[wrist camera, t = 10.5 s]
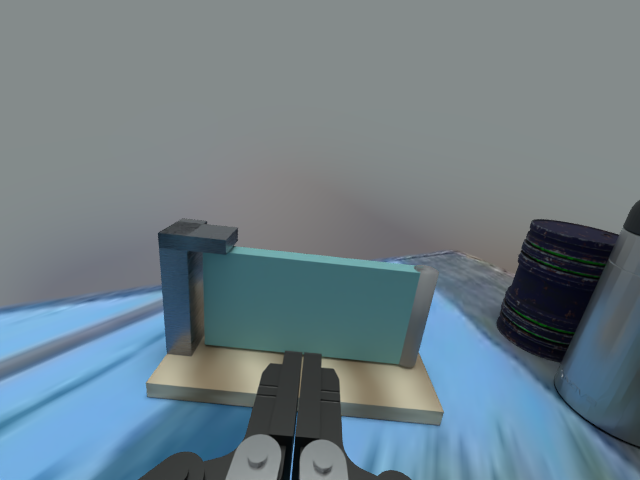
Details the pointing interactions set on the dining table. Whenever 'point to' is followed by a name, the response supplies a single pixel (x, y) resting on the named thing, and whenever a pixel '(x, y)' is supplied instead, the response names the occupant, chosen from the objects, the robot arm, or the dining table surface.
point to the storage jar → (553, 285)
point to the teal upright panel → (316, 304)
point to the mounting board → (354, 375)
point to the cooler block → (188, 278)
